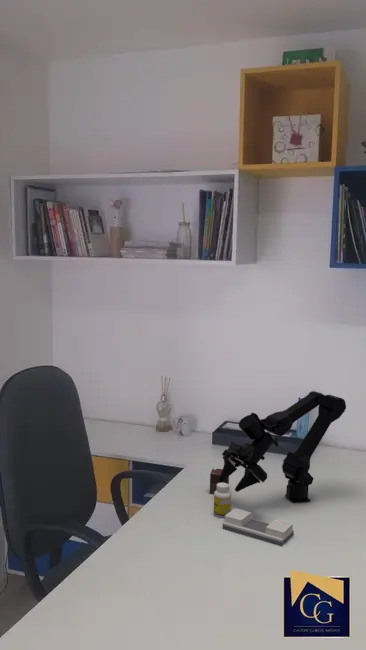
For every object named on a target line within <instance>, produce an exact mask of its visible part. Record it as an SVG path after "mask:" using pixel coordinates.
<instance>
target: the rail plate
mask: <svg viewBox="0 0 366 650" xmlns="http://www.w3.org/2000/svg"><path fill="white" fill-rule="evenodd" d="M293 527H294V523H291V522H287V521H284V520H280V519H278V518H277V519H276V518H275V519H274V520H273V521H271V522H270V523H268V522H265V521H260V520H256V519H253V518H252V511H251V512H250V511H247V510H243V509H240V508H237V507H235V508H233V509H231V512H229V513H228V514H226V515H225V518H224V520H223V522H222V529H223V530H226V531H229V532H233V533H236V534H239V535H242V536H246V537H248V538H249V537H250V538H253V539H255V540H260V541H263V542H266V543H270V544H273V545H276V546H280V547H283V545H284V544H286V542H288V540H290V539H291V538H292V537H293V536H294V533H295V532H294V531H295V530H293V529H294V528H293Z"/></svg>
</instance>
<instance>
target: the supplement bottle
mask: <svg viewBox="0 0 366 650" xmlns="http://www.w3.org/2000/svg"><path fill="white" fill-rule="evenodd" d="M216 488H217V490H216V491H215V492H214V494H213V515H214V516H215V517H217V518H224V519H225V515H226V514H228V513H229V512H231V511H232V509H231V507H232V492H231V491H230V483H229V484H227V483H218V484H217V487H216Z"/></svg>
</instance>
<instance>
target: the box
mask: <svg viewBox="0 0 366 650" xmlns="http://www.w3.org/2000/svg"><path fill="white" fill-rule="evenodd" d="M222 470H223V468H216V467H215V468H212V469H211V472H210V474H209V494H210V495H214V492H215V491H216V490H217V488H216V487H217V484H218V483H227V484H229V485H230V476H229V477H227V478H226V479H225V480H223V481H222V482H220V481H219V478H220V475H221V472H222Z"/></svg>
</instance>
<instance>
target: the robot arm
mask: <svg viewBox="0 0 366 650" xmlns="http://www.w3.org/2000/svg"><path fill="white" fill-rule="evenodd" d="M317 407H318V408H317ZM315 408H317V409H318V413H317V417H316V419H315V420H314V422H313V424H312V425H311V427H310V428H309V430H308V431H307V434H306V435H305V436H304V439H303V440H302V441H301V443H300V446H299V447H298V448H297V450H296V451H294V452H292V451H289V452H288V453H287V454H286V456H285V458H284V459H283V460H282V462H283V463H282V464H281V468H282V472H283V474H284V478H285V479H287V485H286V493H285V496H284V497H286V498H287V499H288V500H289V501H291V502H292V503H295V504H297V503H306V502H311V499H310V498H309V486H310V485H312V484H313V481H314V477H313V476H312V474H311V473H310V472H309V471H310V468H311V458H312V456H313V454H314V452H315V451H316V449H317V447H318V446H319V444H320V443H321V441H322V439H323V438H324V436H325V434H326V432H327V430H328V429H329V428H330V426H331V424H332V423H333V422H335V421H337V420H339V419H340V418H341V416H342V415H343V414H344V412H346V408H347V404H346V400H345V398H342V397H339V396H335V395H332V394H324V393H321V392H318V391H316V390H312V391H310V392H309V393H308V394H307V395H306V396H304V397H303V398H302V399H300V400H299V401H296V402H295V403H294V404H292V405H291V406H289V407H288V408H286V409H285V410H284V409H283V410H281V411H277V412H274V413H271V414H269V415H267V416H266V417H265V418H263V419H261V418H260V417H259V415H258V414H257V413H255V412H251V413H250V414H248V415H245V416H244V417H242V418H241V419H240V421H239V423H238V427H239V429H241V431H242V432H243V433H244V434H245V436H246V437H247V438H248V439H250V440H251V442H250V443H248V442H247V443H243V444H240V443H238V442H236V441H233V440H231V441H230V444H229V446H228V449H224V451H223V452H222V453H221V455H222V459H223V468H222V469H223V470H222V472H221V475H220V478H219V481H220V482H222V481H223V480H225V479H226V478H227V477H229V478H230V476H231V475H232V474H233V473H235V472H236V471H238V468H239V467H242V468H243V469H244V474H243V477H242V478H241V479H240V480H239V482H238V483H237V484H236V486H235V488H234V491H235V492H237V493H239V492H240V491H242V490H244V489H246V488H248V487H252V486H253V485H256V484H260V483H265V482H266V480H267V478H268V473H267V472H266V471H265V469H264V468H262V466H261V465H259V464H258V463H259V462H260V461H261V460H262V461H264V460H265V458H266V457H265V456H264V455H265V454H266V453H267V452H268V451H269V449H270V448H271V446H273V447H277V448H278V447H279V442H278V441H279V440H278V439H279V438H278V437H283V436H284V435H287V433H288V432H289V431H290V430H291V429H292V427H293V424H294V423H295V422H296V421H298V420H299V419H300V418H302V417H304V416H305V415H307V414H308V413H310V412H311V411H312V410H313V409H315ZM272 434H273V435H276V436H277V437H276V436H273V435H272Z"/></svg>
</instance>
